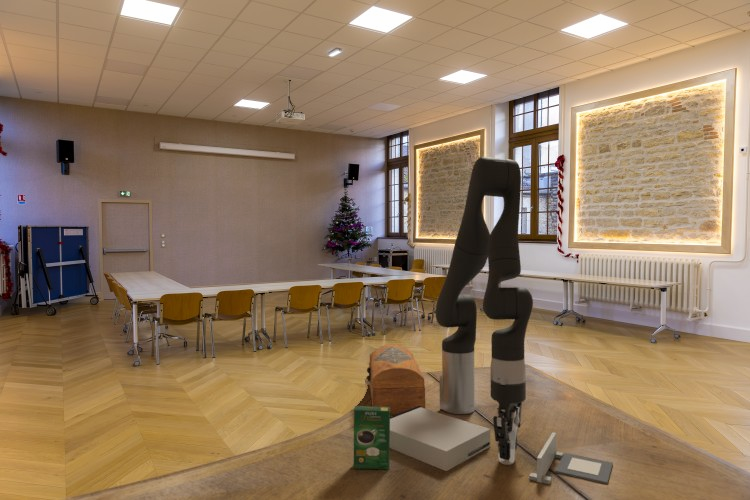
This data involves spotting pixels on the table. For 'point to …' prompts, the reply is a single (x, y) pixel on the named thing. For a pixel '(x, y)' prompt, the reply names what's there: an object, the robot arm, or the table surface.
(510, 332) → the robot arm
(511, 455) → the milkshake
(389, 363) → the wooden box
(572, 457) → the mat
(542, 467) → the divider wall
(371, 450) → the coffee box
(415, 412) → the disc drive
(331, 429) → the table surface
